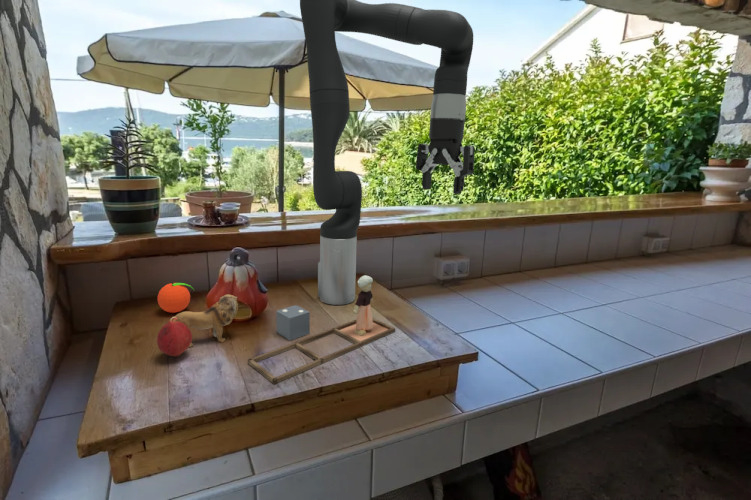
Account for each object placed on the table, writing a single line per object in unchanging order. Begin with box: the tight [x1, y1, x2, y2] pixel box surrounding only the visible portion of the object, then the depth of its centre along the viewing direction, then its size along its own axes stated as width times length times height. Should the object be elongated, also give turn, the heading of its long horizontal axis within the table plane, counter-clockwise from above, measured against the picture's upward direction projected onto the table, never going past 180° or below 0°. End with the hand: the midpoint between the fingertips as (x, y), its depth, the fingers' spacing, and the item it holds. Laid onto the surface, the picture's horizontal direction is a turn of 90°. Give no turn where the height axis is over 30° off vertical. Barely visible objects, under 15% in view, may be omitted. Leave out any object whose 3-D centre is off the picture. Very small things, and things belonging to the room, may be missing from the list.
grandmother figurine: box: [352, 274, 374, 336], centre depth 89 cm, size 8×4×13 cm, turn 164°
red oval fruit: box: [156, 315, 193, 358], centre depth 76 cm, size 6×6×8 cm
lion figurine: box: [175, 294, 239, 348], centre depth 82 cm, size 15×5×9 cm, turn 123°
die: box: [275, 304, 311, 341], centre depth 88 cm, size 5×5×5 cm
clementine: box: [157, 282, 195, 314], centre depth 96 cm, size 8×7×7 cm
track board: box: [247, 317, 396, 385], centre depth 83 cm, size 9×31×1 cm, turn 135°
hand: (441, 191), depth 94 cm, fingers open, 8 cm apart
